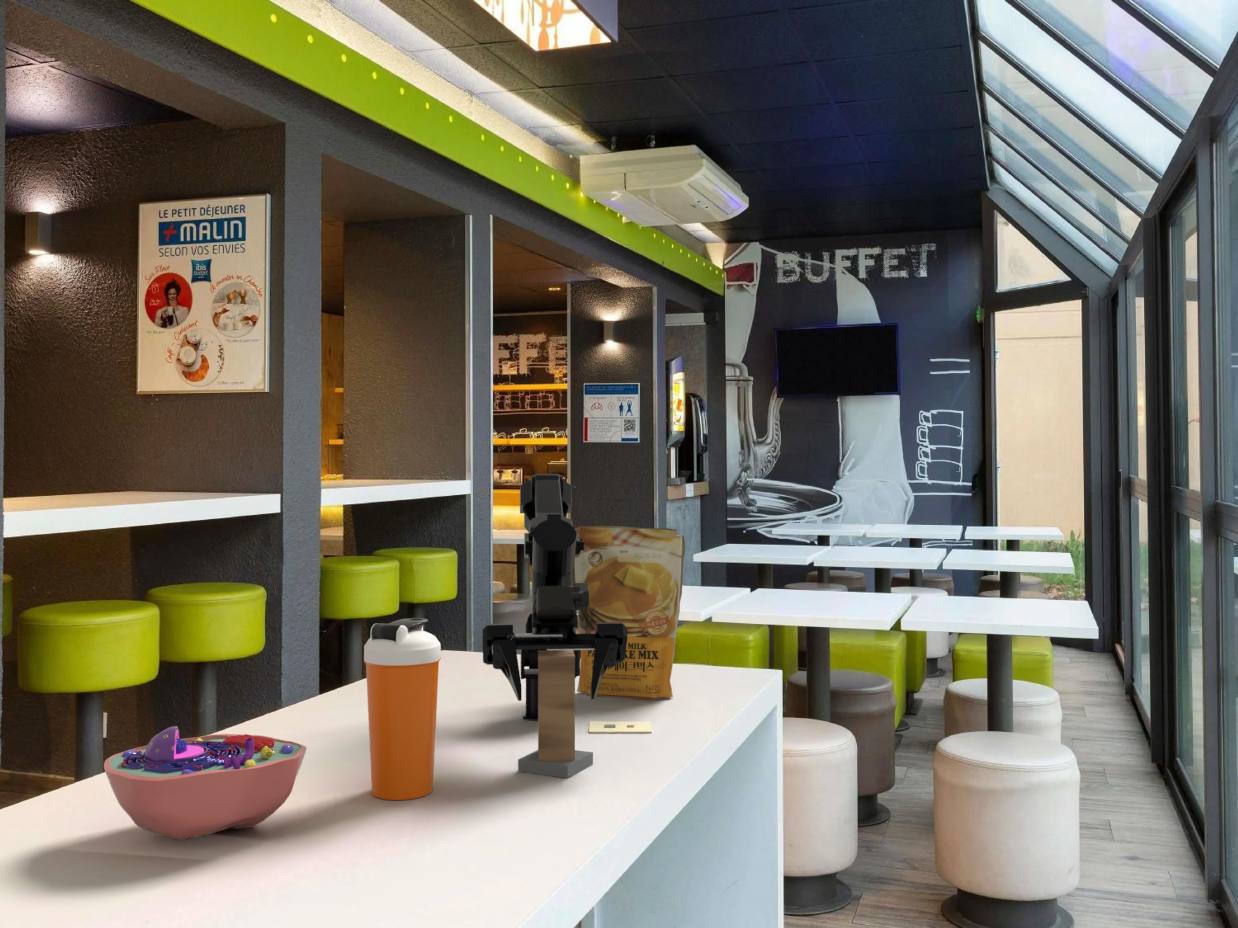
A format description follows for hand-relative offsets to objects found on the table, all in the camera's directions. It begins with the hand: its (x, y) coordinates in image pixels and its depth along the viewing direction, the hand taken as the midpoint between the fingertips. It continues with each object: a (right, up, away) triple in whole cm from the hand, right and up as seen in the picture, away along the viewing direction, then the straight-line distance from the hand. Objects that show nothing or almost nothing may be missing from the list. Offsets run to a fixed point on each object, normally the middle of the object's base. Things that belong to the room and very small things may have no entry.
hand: (556, 698), depth 139 cm
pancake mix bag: (+9, -9, +45) cm, 47 cm away
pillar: (0, -8, +1) cm, 8 cm away
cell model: (-35, -9, -23) cm, 43 cm away
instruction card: (+8, -9, +22) cm, 25 cm away
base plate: (0, -9, +1) cm, 9 cm away
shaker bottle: (-18, -9, -9) cm, 22 cm away
